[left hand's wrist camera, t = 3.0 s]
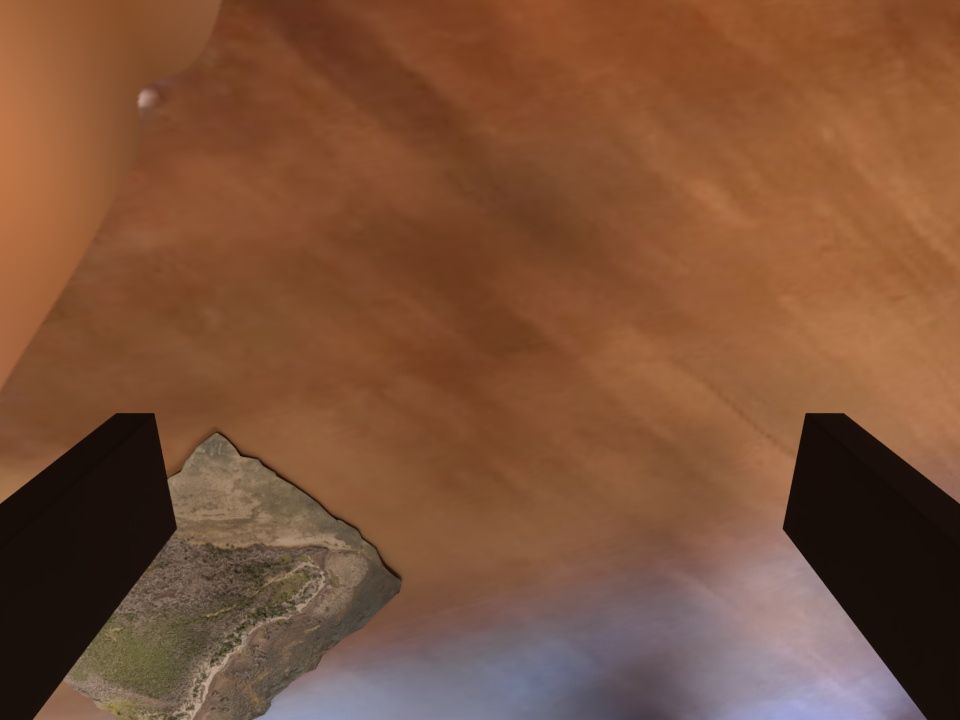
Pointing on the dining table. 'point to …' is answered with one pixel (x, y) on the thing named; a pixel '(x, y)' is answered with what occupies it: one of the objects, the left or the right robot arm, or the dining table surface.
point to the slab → (232, 598)
